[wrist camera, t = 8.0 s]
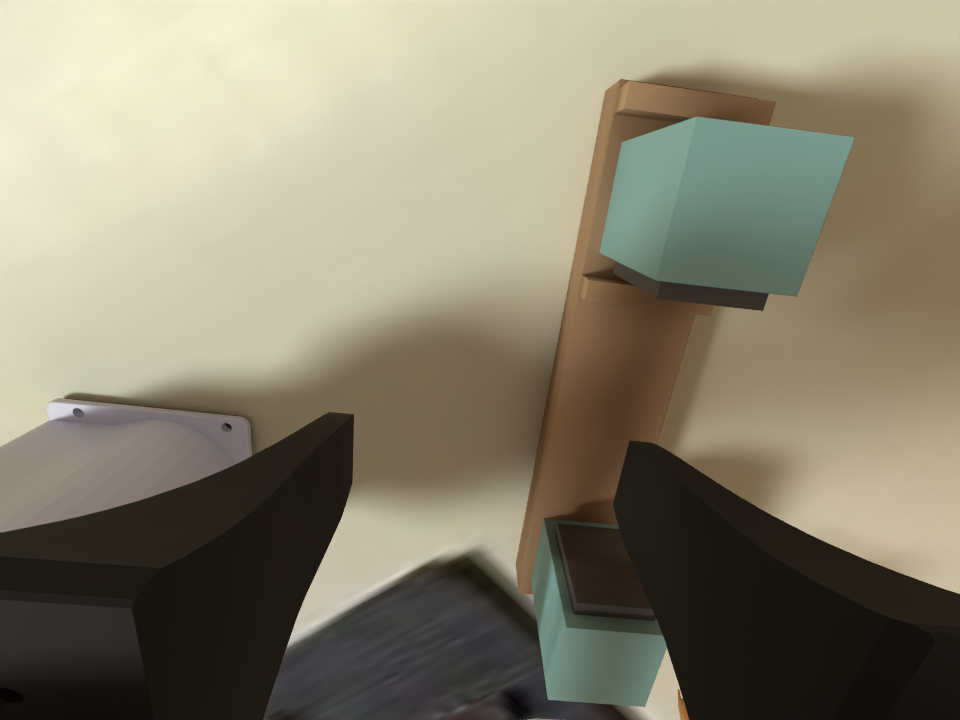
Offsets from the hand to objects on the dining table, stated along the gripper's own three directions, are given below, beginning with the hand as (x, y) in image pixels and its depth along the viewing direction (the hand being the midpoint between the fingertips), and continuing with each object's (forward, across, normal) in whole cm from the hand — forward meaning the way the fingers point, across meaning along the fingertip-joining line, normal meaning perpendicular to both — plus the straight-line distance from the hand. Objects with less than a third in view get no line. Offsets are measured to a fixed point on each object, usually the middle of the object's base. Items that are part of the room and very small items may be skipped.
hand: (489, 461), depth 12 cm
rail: (+10, -6, +1) cm, 12 cm away
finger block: (+8, -6, -7) cm, 12 cm away
